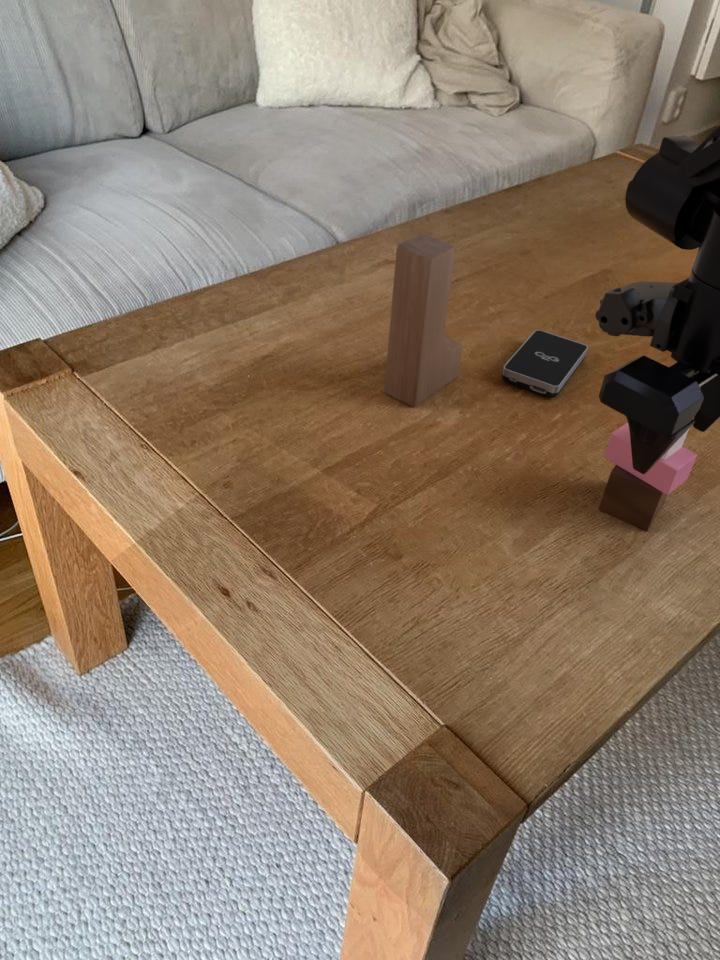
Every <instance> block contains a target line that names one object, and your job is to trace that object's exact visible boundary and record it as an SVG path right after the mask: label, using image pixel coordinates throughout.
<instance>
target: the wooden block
mask: <svg viewBox="0 0 720 960" xmlns="http://www.w3.org/2000/svg"><path fill="white" fill-rule="evenodd" d="M456 248H457V247H456V245H454V244H451V243H450V242H446V241H444V240H441V239H439V238H436V237H433V236H431V235H428V234H426V233H419V234H417V235H415V236H413V237H411V238H409V239H407V240H405V241H403V242H401V243H399V244H398V245H397V246H396V251H395V263H394V264H395V265H394V272H393V273H394V275H393V284H392V285H393V286H392V287H393V288H392V296H391V297H392V298H391V309H390V319H389V321H390V322H389V332H388V341H387V352H386V353H387V356H386V357H387V358H386V365H385V377H384V387H383V388H384V390H383V392H384V393H385V394H386V395H388V396H390V397H392V398H394V399H396V400H398V401H400V402H402V403H405V404H406V405H408V406H410V407H413V408H416V407H417V406H418V405H420V404H421V403H423V402H424V401H426V400H427V399H428V398H429V397H431V396H433V395H434V394H435V393H436V392H438V391H439V390H441V389H442V388H443V387H445V386H446V385H448V384H449V383H451V382H452V381H453V380H455V379H456V378H457V377H458V376H459V372H460V366H461V360H462V352H463V344H462V343H460V342H459V341H456V340H454V339H451V338H449V337H447V336H445V330H446V323H447V315H448V307H449V300H450V293H451V286H452V279H453V272H454V265H455V258H456V257H455V256H456Z"/></svg>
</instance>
